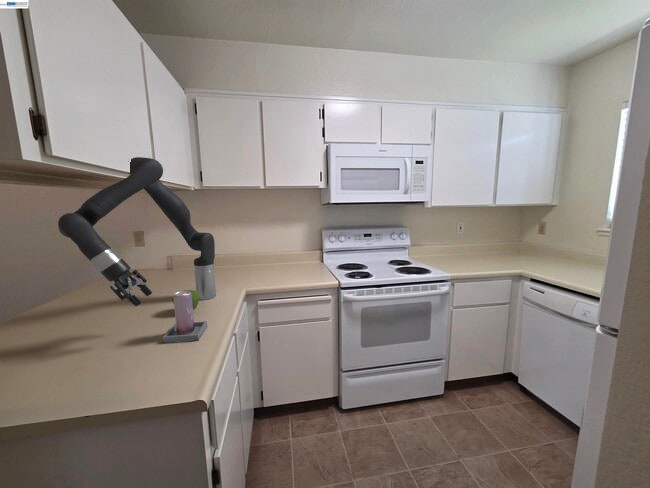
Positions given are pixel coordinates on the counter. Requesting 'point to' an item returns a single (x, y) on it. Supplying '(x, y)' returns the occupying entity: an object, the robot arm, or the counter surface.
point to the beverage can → (184, 313)
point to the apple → (193, 298)
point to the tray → (195, 336)
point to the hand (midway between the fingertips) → (144, 299)
